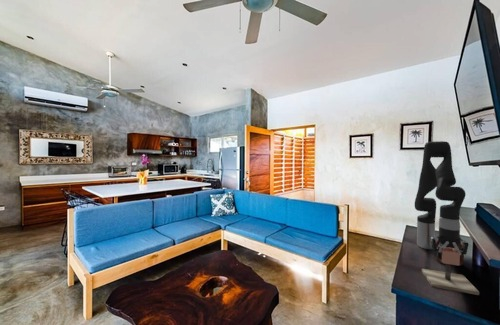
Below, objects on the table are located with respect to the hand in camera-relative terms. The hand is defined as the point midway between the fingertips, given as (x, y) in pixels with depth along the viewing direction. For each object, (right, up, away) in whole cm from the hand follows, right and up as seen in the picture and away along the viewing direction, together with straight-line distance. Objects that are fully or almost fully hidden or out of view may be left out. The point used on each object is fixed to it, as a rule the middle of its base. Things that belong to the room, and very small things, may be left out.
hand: (448, 260), depth 104 cm
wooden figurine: (+17, -10, +18) cm, 27 cm away
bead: (0, -1, 0) cm, 1 cm away
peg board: (0, -11, +1) cm, 11 cm away
